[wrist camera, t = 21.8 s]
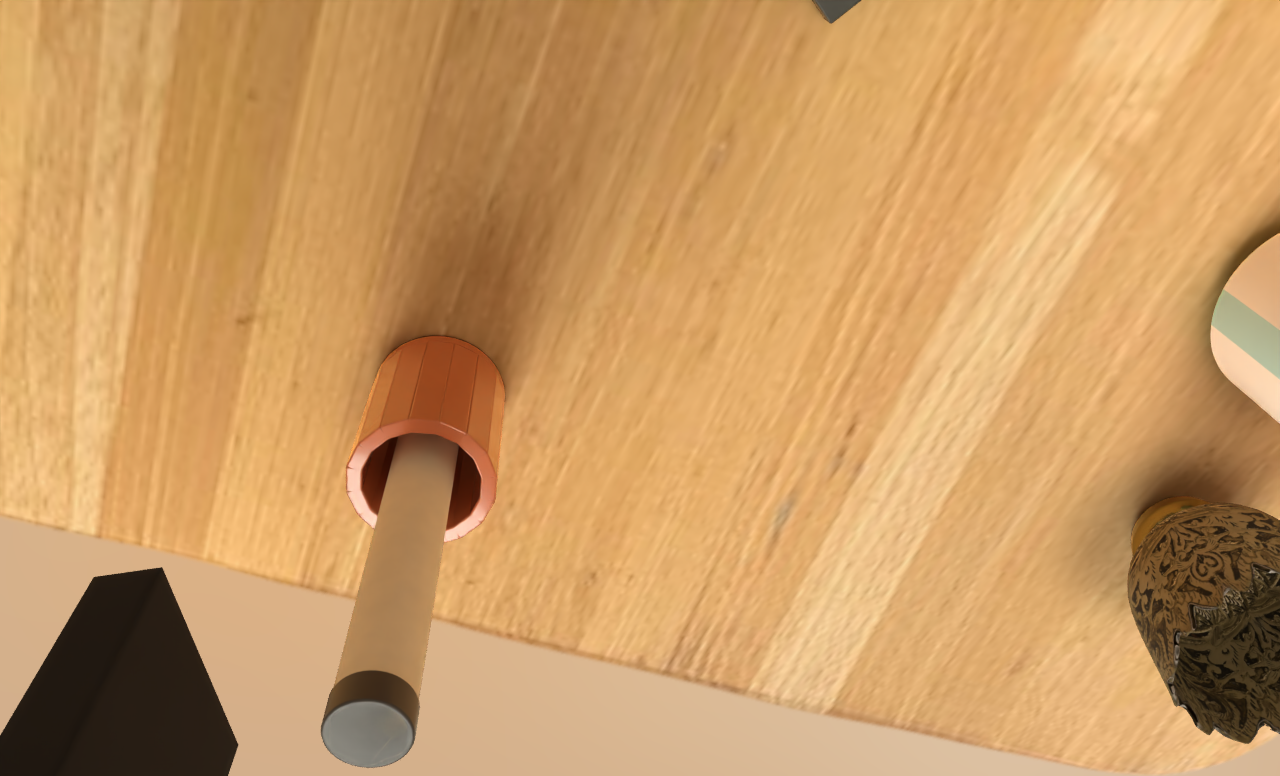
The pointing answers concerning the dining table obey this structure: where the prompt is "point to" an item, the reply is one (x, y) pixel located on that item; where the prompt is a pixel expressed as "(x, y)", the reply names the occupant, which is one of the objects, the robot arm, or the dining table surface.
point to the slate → (834, 8)
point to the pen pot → (432, 425)
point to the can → (1252, 327)
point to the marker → (393, 609)
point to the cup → (1211, 610)
